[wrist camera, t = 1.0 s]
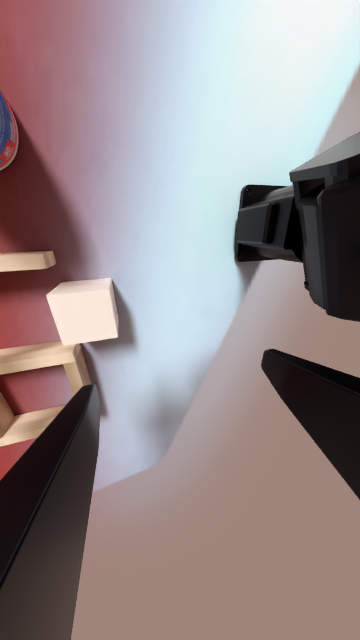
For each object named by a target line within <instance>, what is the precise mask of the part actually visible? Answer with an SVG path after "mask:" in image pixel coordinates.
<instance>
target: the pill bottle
mask: <svg viewBox="0 0 360 640" xmlns="http://www.w3.org/2000/svg"><path fill="white" fill-rule="evenodd" d="M17 149H18V129H17V124H16V120H15V117H14V115H13V112H12V110H11V108H10V106H9V104H8V102H7V100H6V98H5V97H4V95H3V94H2V92H1V91H0V170H2V169H4V168H6V167H7V166H8V165H9V164H10V163H11V162H12V161H13V159H14V158H15V156H16V153H17Z"/></svg>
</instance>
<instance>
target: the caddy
mask: <svg viewBox="0 0 360 640" xmlns="http://www.w3.org/2000/svg"><path fill="white" fill-rule="evenodd" d="M55 264H56V260H55V257H54V253H53V251H37V252H13V253H0V272H3V271H19V270H36V269H47V268H49V267H51V266H53V265H55ZM59 364H63V366H64V369H65V371H66V374H67V377H68V380H69V383H70V385H71V388H72V391H73V394H74V395H75V394H76V393H77V392H78V391H79V389H80V388H81V387H82V386H83V385H87V384H92V383H91V380H90V377H89V373H88V370H87V366H86V363H85V359H84V356H83V353H82V349H81V346H80V343H79V344H72V345H66V346H63V344H62V341H55V342H48V343H41V344H34V345H27V346H20V347H14V348H7V349H0V375H2V374H7V373H13V372H19V371H25V370H30V369H36V368H42V367H48V366H54V365H59ZM64 407H65V405H61V406H57V407H52V408H48V409H43V410H39V411H34V412H30V413H25V414H21V415H16V416H14V414H13V412H12V411H11V409H10V407H9V406H8V404H7V402H6V400H5V399H4V397H3V395H2V393H1V392H0V446H4V445H8V444H12V443H16V442H20V441H24V440H28V439H32V438H36V437H39V435H40V434H41V433H42V432H43V431H44V430H45V429H46V427H47V426H48V425H49V424H50V423H51V422H52V420H53V419H54V418H55V417H56V416H57V415H58V414H59V412H60V411H61V410H62V409H63V408H64Z"/></svg>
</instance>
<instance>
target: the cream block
mask: <svg viewBox="0 0 360 640" xmlns="http://www.w3.org/2000/svg"><path fill="white" fill-rule="evenodd" d="M46 297H47V300H48V303H49V305H50V308H51V311H52V314H53V317H54V320H55V323H56V326H57V329H58V332H59V335H60V338H61V341H62V344H63V346H66V345H72V344H79V343H85V342H92V341H98V340H105V339H111V338H118V319H119V318H118V313H117V307H116V302H115V296H114V290H113V285H112V279H111V278H107V279H94V280H81V281H68V282H61V283H60V284H59V285H58V286H57V287H55V288H54V289H53V290H52V291H51V292H49V293H48V294H47V295H46Z"/></svg>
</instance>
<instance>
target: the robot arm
mask: <svg viewBox="0 0 360 640" xmlns="http://www.w3.org/2000/svg"><path fill="white" fill-rule="evenodd" d="M289 174H290V181H291V182H293V185H291V186H269V185H246V186H244V187H243V189H242V191H241V200H240V210H239V212H238V220H237V231H236V251H235V259H236V261H239V262H246V261H261V260H274V259H282V260H288V261H295V262H301V263H303V266H304V274H305V282H304V285H305V288H306V289H307V290H308V291H309V293H310V297H311V298H312V300H313V302H314V303H315V304H317V305H318V306H320V307H321V308H323V309H325V310H326V313H327V314H328V315H330V316H333V317H337V318H340V319H344V320H352V321H357V322H360V132H359V133H357V134H355V135H353V136H351V137H349V138H347V139H345V140H344V141H342V142H340V143H338V144H337V145H335V146H334V147H332V148H330V149H328V150H327V151H325V152H323V153H321V154H320V155H318V156H316V157H315V158H313V159H311V160H309V161H308V162H306V163H304V164H303V165H301V166H299V167H297V168H296V169H294V170H292V171H291V172H289ZM247 189H248V191H249V193H248V195H247V193H246V190H247ZM240 255H241V258H239V256H240ZM261 367H262V369H263V371H264V373H265V374H266V376H267V377H268V379H269V380H270V382H271V384H272V385H273V387H274V388H275V390H276V391H277V393H278V394H279V396H280V397H281V399H282V400H283V401H284V403H285V404H286V405H287V407H288V408H289V409H290V411H291V412H292V413H293V414H294V416H295V417H296V418H297V419H298V421H299V422H300V423H301V425H302V426H303V427H304V429H305V430H306V431H307V433H308V434H309V435H310V436H311V438H312V439H313V440H314V442H315V443H316V444H317V445H318V447H319V448H320V449H321V450H322V452H323V453H324V454H325V456H326V457H327V458H328V460H329V461H330V462H331V463H332V465H333V466H334V467H335V469H336V470H337V471H338V473H339V474H340V475H341V476H342V478H343V479H344V480H345V482H346V483H347V484H348V485H349V487H350V488H351V489H352V491H353V492H354V493H355V495H356V496H357V497H358V498H359V500H360V378H358V377H355V376H352V375H349V374H346V373H343V372H340V371H337V370H334V369H332V368H329V367H326V366H322V365H320V364H317V363H314V362H311V361H308V360H305V359H302V358H299V357H296V356H293V355H290V354H287V353H284V352H281V351H278V350H275V349H269V350H265V351H264V353H263V358H262V363H261ZM99 426H100V399H99V395H98V391H97V387H96V385H95V384H94V383H92V384H87V385H83V386H82V387H81V388H80V389H79V391H78V392H77V393H76V394H75V395H74V396H73V397H72V399H71V400H70V401H69V402H68V403H67V404H66V405H65V407H64V408H63V409H62V410H61V411H60V412H59V414H58V415H57V416H56V417H55V418H54V419H53V420H52V422H51V423H50V424H49V425H48V426H47V427H46V429H45V430H44V431H43V432H42V433H41V434H40V435H39V437H38V438H37V439H36V440H35V441H34V442H33V444H32V445H31V446H30V447H29V448H28V449H27V450H26V452H25V453H24V454H23V455H22V456H21V457H20V458H19V460H18V461H17V462H16V463H15V464H14V465H13V467H12V468H11V469H10V470H9V471H8V472H7V473H6V475H5V476H4V477H3V478H2V479H1V480H0V640H71V634H72V627H73V620H74V613H75V606H76V599H77V592H78V586H79V579H80V572H81V565H82V559H83V552H84V545H85V538H86V531H87V525H88V518H89V510H90V504H91V497H92V490H93V483H94V477H95V470H96V463H97V456H98V448H99Z"/></svg>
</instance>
